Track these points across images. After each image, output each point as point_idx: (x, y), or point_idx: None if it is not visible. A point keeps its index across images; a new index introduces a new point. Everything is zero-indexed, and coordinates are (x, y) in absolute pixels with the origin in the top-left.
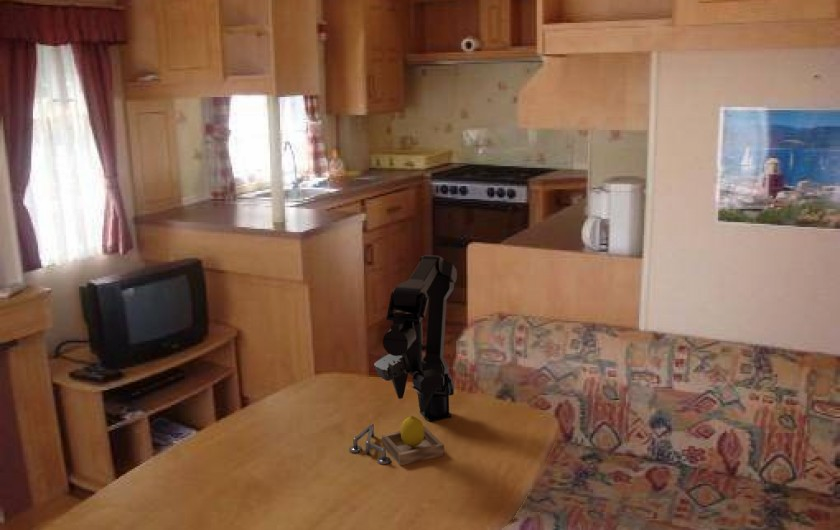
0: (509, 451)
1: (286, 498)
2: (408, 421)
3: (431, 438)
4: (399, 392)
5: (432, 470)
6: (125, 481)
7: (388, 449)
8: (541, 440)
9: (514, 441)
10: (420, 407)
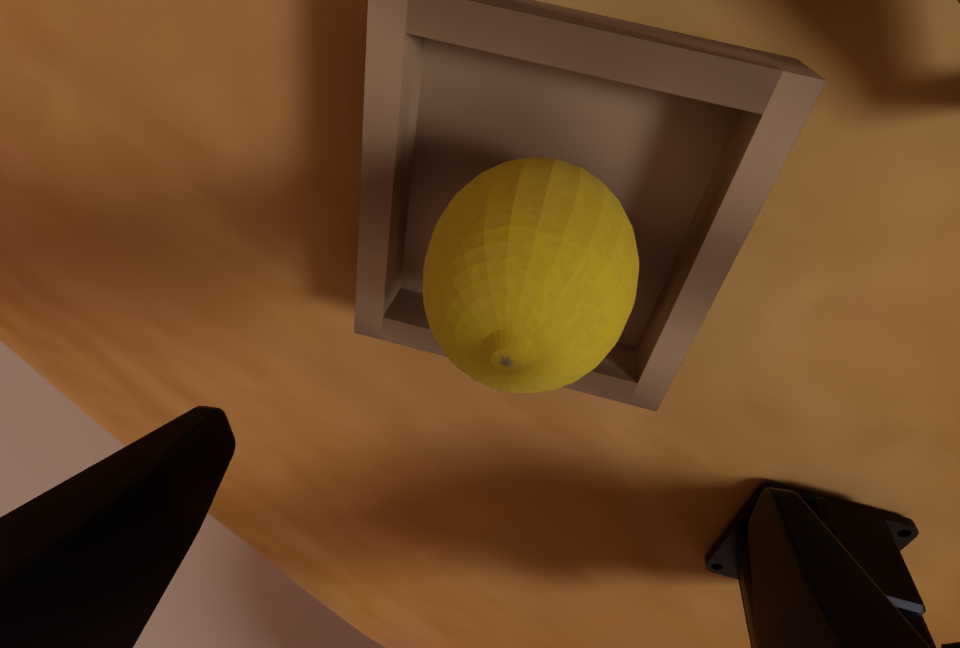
0: (278, 483)
1: None
2: (494, 288)
3: None
4: (790, 594)
5: (245, 130)
6: None
7: (649, 30)
8: (305, 579)
9: (342, 538)
10: (135, 449)
